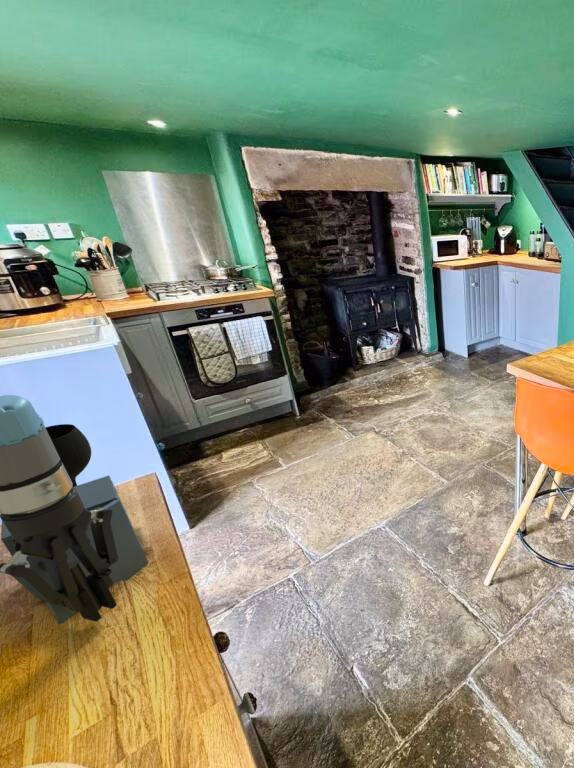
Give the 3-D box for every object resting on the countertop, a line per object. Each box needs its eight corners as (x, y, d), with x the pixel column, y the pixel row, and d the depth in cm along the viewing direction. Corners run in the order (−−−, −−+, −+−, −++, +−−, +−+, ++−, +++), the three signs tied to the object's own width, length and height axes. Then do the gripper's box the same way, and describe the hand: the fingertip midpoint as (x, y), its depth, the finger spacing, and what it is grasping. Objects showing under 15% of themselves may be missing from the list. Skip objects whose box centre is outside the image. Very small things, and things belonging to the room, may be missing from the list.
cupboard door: (174, 568, 79) (147, 505, 73) (94, 635, 67) (53, 567, 61) (144, 561, 81) (115, 499, 74) (60, 626, 68) (16, 558, 62)
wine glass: (78, 525, 90) (37, 449, 81) (39, 519, 91) (-5, 444, 83) (125, 495, 99) (93, 424, 91) (90, 490, 100) (55, 420, 92)
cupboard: (146, 560, 81) (116, 497, 75) (44, 607, 72) (0, 539, 65) (137, 535, 87) (109, 475, 81) (42, 575, 78) (1, 510, 71)
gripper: (-13, 541, 51) (65, 660, 60) (114, 473, 64) (162, 579, 73) (-57, 531, 52) (27, 649, 61) (77, 466, 65) (128, 572, 75)
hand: (100, 611), depth 67 cm, fingers closed on cupboard door, 2 cm apart
